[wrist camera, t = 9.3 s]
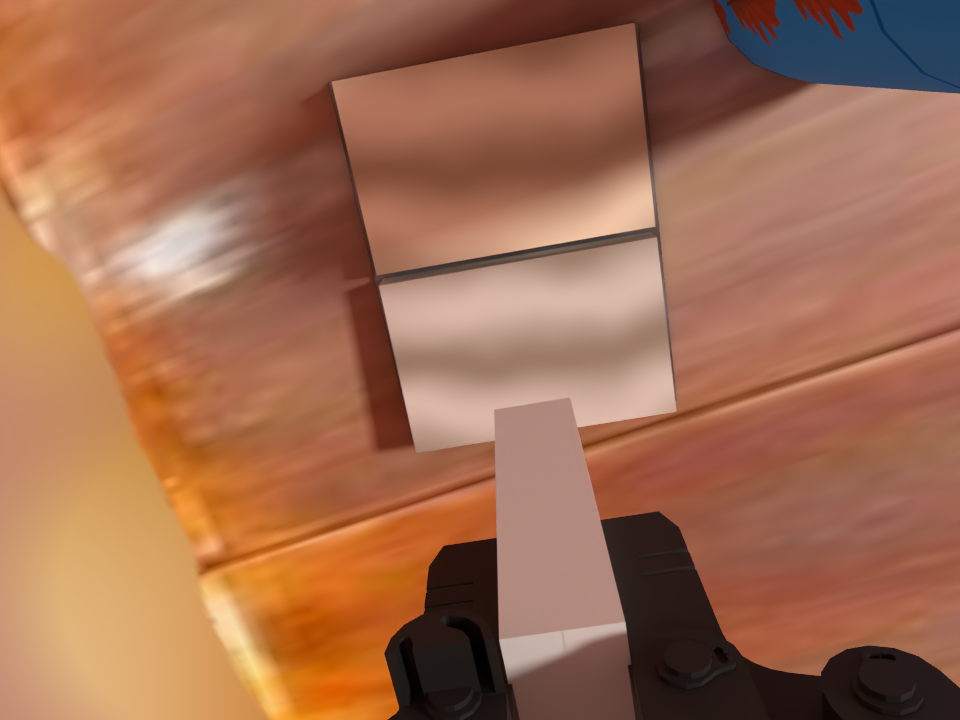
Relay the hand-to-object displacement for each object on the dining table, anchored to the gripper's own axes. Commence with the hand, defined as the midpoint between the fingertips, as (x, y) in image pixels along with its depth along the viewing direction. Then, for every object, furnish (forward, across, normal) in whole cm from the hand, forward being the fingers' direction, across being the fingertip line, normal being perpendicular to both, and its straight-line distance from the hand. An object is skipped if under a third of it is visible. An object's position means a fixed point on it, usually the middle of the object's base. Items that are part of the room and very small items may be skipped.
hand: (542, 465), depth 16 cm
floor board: (+29, 0, -3) cm, 30 cm away
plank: (+29, 0, -8) cm, 30 cm away
